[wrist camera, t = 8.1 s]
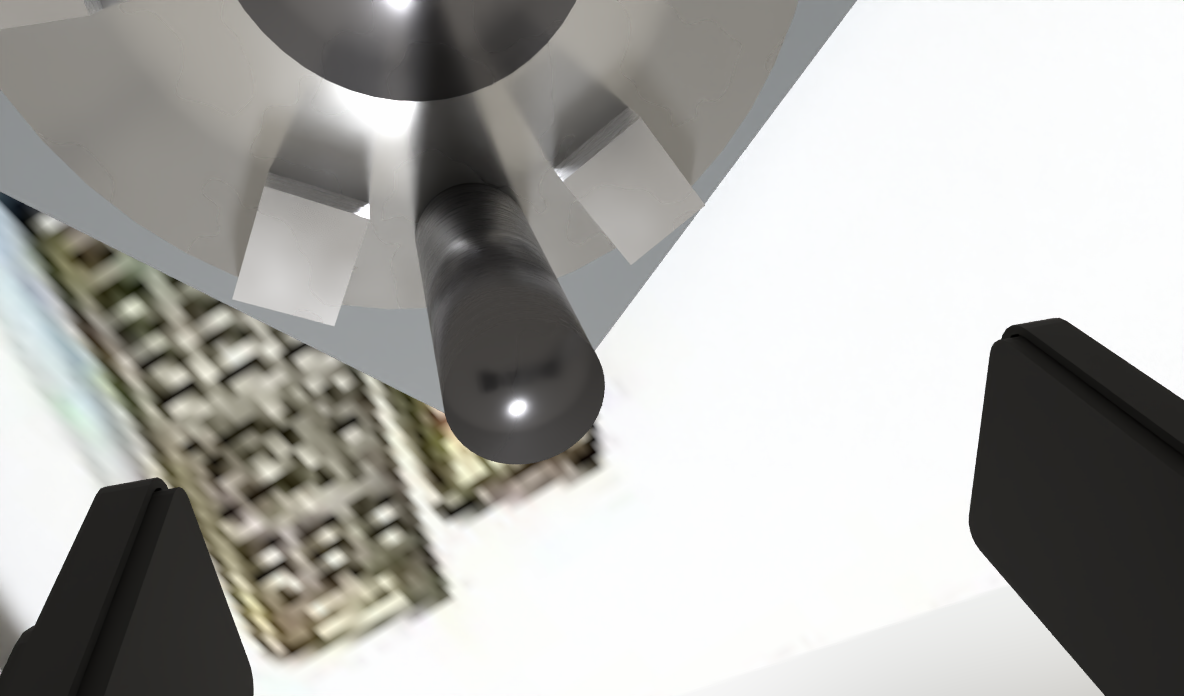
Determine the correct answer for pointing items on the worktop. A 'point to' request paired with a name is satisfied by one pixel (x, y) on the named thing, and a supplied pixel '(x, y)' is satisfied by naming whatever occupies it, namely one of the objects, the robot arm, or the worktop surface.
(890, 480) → the worktop surface
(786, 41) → the mount plate
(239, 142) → the grey round knob
